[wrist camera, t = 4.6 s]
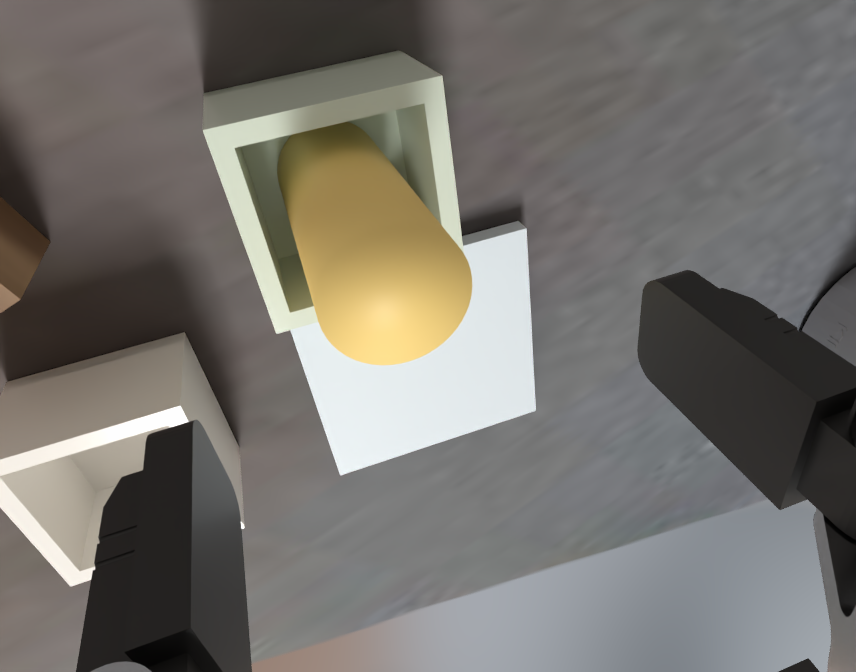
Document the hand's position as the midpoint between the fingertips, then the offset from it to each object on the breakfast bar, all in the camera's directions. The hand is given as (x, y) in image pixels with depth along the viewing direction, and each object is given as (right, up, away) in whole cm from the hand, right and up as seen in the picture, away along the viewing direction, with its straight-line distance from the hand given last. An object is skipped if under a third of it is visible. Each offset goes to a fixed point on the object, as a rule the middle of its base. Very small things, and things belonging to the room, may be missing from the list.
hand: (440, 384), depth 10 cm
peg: (-4, +6, +10) cm, 12 cm away
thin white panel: (-1, 0, +16) cm, 16 cm away
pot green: (-4, +7, +11) cm, 13 cm away
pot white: (-12, -3, +14) cm, 18 cm away
